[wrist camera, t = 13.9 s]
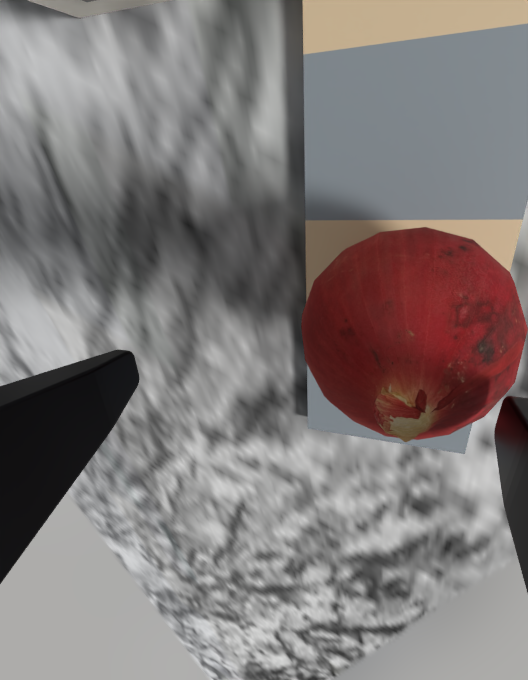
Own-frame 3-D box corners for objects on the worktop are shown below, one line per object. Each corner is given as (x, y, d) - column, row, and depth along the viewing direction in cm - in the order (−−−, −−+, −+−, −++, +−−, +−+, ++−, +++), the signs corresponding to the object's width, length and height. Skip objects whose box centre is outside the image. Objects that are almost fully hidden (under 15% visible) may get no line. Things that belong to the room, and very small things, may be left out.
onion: (456, 173, 12) (554, 221, 5) (507, 326, 14) (632, 512, 7) (295, 252, 15) (219, 353, 8) (356, 372, 16) (337, 542, 9)
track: (462, 441, 17) (464, 453, 17) (311, 418, 19) (307, 428, 19) (633, -278, 8) (655, -315, 7) (307, -173, 10) (300, -195, 9)
